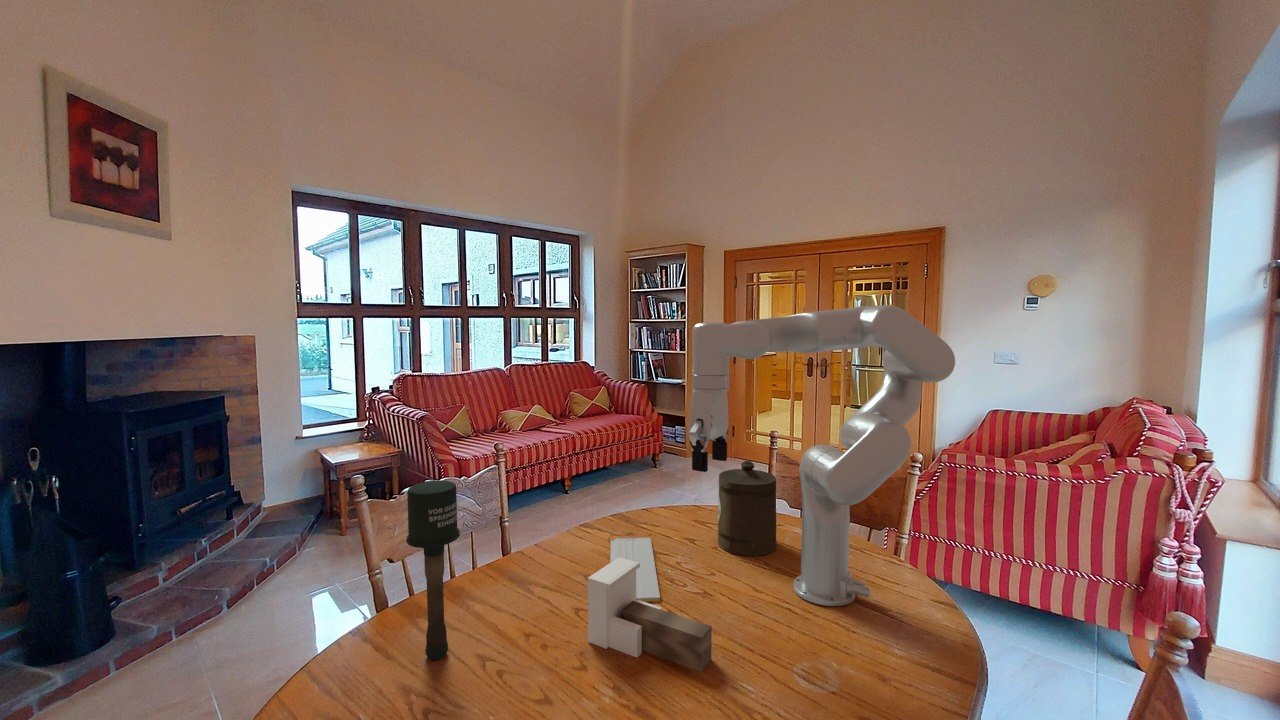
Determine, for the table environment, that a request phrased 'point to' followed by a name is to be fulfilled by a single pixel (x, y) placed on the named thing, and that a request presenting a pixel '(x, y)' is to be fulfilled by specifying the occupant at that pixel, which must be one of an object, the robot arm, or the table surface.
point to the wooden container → (747, 511)
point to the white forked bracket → (614, 607)
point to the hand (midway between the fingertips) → (710, 465)
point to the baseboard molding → (646, 572)
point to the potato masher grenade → (433, 549)
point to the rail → (671, 635)
